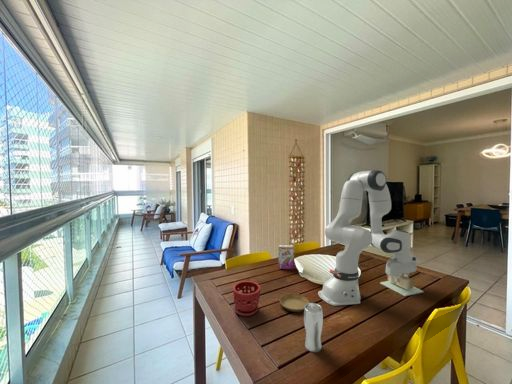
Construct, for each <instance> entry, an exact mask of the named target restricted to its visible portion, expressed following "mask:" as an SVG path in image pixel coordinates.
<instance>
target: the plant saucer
mask: <svg viewBox="0 0 512 384" xmlns="http://www.w3.org/2000/svg"><path fill="white" fill-rule="evenodd" d="M279 303H280V305H281V306H282V307H283V308H284V309H286V310H287V311H290V312H295V313H298V312H302V311H304V306H305V305H306V304H307V303H310V300H309V299H308V298H307V297H305V296H304V295H302V294H299V293H285V294H283V295H281V296H280V298H279Z"/></svg>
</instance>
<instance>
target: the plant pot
mask: <svg viewBox="0 0 512 384" xmlns="http://www.w3.org/2000/svg"><path fill="white" fill-rule="evenodd" d="M252 287H253V290H252ZM240 291H241V292H240ZM232 293H233V302H234V305H233V307H234V311H235V313H236V314H237V315H239V316H242V317H249V316H252V315H255V313H257V312H258V310H259V306H258V305H259V302H260V297H261V286H260V284H259V283H257V282H254V281H250V280H249V281H247V280H246V281H245V280H243V281H239V282H237V283H236V284H235V285H233V288H232Z"/></svg>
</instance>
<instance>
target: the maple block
mask: <svg viewBox="0 0 512 384" xmlns="http://www.w3.org/2000/svg"><path fill="white" fill-rule="evenodd" d="M397 278H398V279H399V282H395V281H394V277H393V276H390V275H388V274H387V281H390V282H392V283H394V284H396V285H398V286H400V287H402V288H404V289H411V288H413V287H414V279H413V278H410V277H409V276H408V277H406V276H404V274H400V275H398V276H397Z"/></svg>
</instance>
